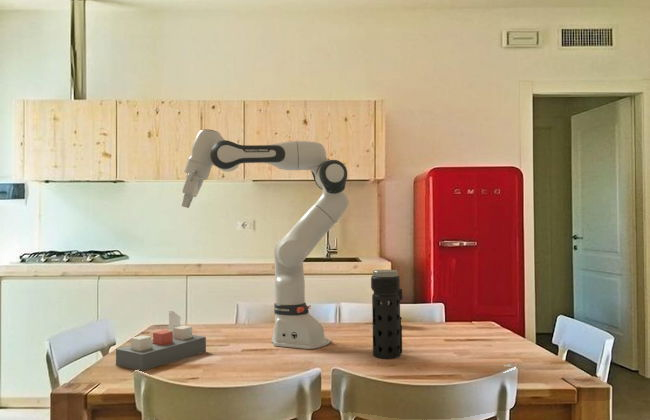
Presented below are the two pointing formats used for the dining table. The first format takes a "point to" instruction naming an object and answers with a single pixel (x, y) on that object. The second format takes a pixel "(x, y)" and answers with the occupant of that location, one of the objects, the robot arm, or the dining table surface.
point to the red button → (162, 337)
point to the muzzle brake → (386, 314)
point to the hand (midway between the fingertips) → (185, 207)
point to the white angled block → (173, 320)
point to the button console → (160, 353)
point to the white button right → (182, 332)
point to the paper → (505, 365)
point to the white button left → (141, 343)
